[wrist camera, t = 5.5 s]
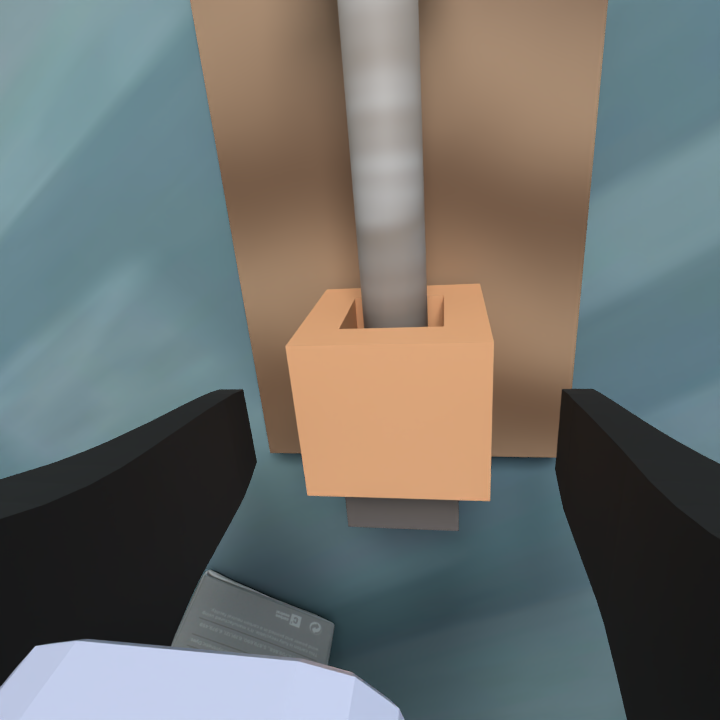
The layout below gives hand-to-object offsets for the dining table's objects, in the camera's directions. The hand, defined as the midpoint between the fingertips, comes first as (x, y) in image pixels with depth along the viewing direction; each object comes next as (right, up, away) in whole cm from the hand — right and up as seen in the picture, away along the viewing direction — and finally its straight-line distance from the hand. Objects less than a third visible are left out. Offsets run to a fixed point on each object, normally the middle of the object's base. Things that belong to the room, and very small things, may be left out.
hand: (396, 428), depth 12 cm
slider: (+1, +2, +4) cm, 4 cm away
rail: (0, +6, +3) cm, 7 cm away
